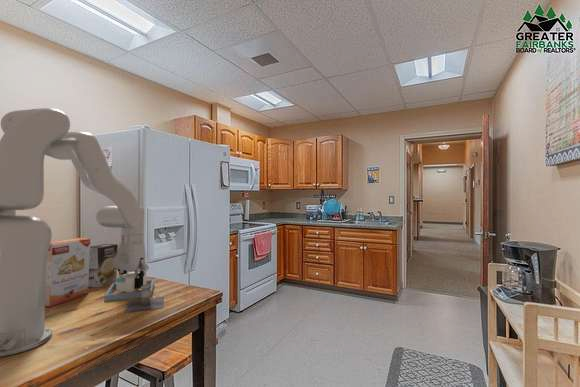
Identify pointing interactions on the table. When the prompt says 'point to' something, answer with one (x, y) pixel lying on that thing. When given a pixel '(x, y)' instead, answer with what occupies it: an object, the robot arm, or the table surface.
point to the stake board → (143, 308)
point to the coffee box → (102, 265)
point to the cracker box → (67, 270)
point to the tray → (128, 295)
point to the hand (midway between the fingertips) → (131, 286)
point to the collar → (127, 282)
